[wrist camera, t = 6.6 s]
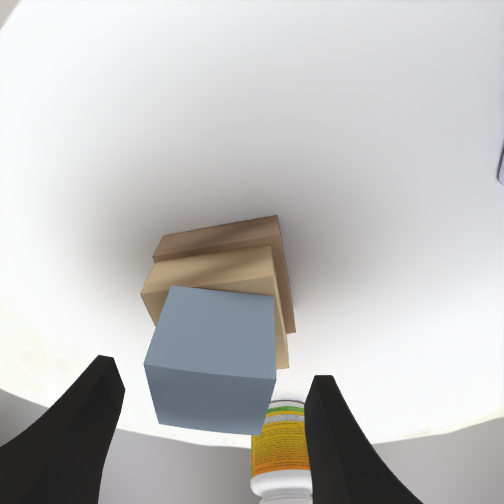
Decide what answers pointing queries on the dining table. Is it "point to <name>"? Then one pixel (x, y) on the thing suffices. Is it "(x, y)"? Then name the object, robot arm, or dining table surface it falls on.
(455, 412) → the dining table surface
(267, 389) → the slate blue cube
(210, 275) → the oak slab
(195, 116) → the dining table surface
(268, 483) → the supplement bottle
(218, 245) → the walnut slab
